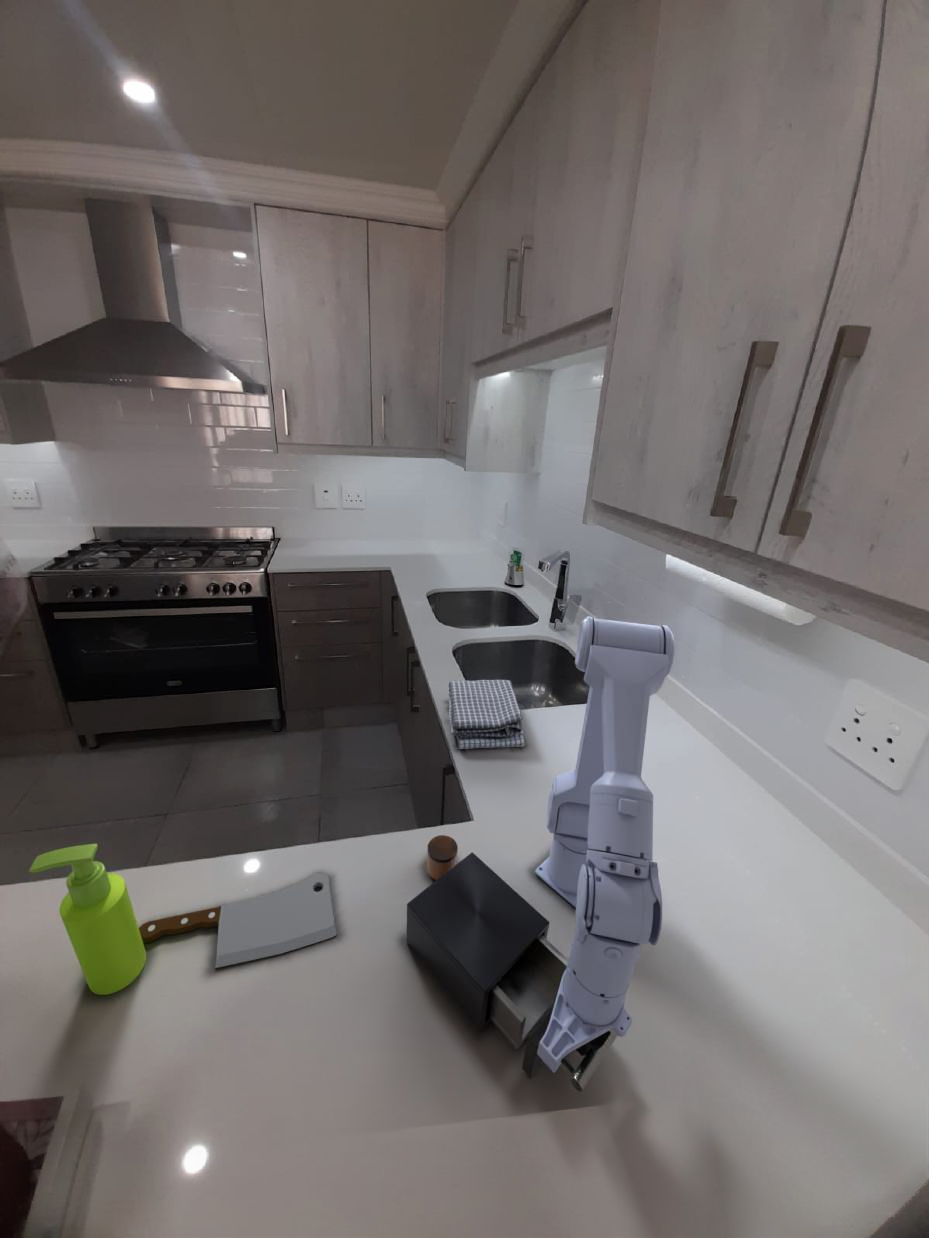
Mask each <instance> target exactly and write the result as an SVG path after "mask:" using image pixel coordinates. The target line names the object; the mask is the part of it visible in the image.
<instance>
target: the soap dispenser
mask: <svg viewBox="0 0 929 1238" xmlns="http://www.w3.org/2000/svg"><path fill="white" fill-rule="evenodd" d="M98 846H99V845H98V843H89V844H81V845H75V846H73V845H72V846H68V847H63V848H58V849H54V850H51V851H47V852H45V853H41V854H39V855H37V856H36V857H35V858H34V860H33V862H32V864H31V866H30V868H29V870H28V872H29V873H31V874H32V873H33V874H37V873H40V872H44V871H47V870H50V869H55V868H61V867H67V866H70V867H71V869H72V871H71V872H70V873H69V874H68V875H67V877H66V881H65V882H66V883H65V884H66V888H67V890H68V892H67V893H66V895H64V897H63V899H62V901H61V903H60V905H59V915H60V918H61V920H62V922H63V925H64V927H65V930H66V933H67V936H68V938H69V940H70V943H71V945H72V948H73V951H74V953H75V956H76V958H77V960H78V963H79V965H80V968H81V970H82V973H83V976H84V978H85V981H86V984H87V985H88V988H89V990H90V991H91V992H92V993H94V994H95V995H100V996H105V995H111V994H114V993H117V992H119V991H121V990H123V989H125V988H126V987H127V986H129V985H130V984H131V983H133V982H134V981H135V980H136V979H137V978H138V976H139V975H140V974H141V972H142V971H143V969H144V967H145V965H146V961H147V952H146V948H145V943H144V942H143V941H142V938H141V934H140V931H139V928H140V927H139V924H138V921H137V918H136V915H135V914H136V913H135V912H134V908H133V905H132V900H131V898H130V894H129V891H128V887H127V884H126V882H125V878H124V877H122V876H121V875H120V874H118V873H115V872H107V868H106V866H105V864H104V863H103V862H101V861H98V860H95V859H94V858H95V856H96V854H97V851H98V848H99V847H98ZM94 860H95V861H94Z"/></svg>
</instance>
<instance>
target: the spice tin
mask: <svg viewBox="0 0 929 1238" xmlns="http://www.w3.org/2000/svg"><path fill="white" fill-rule="evenodd" d="M458 849H459V847H458V843H457V841H456V840H455V839H454V838H453V837H451V836H449V835H446V834H443V835H442V834H441V835H436V836H434V837H432V838H431V839H430V840H429V842H428V844H427V862H426V863H427V864H426V870H427V874H428V876H429V877H430V878H431V879H433V880H434V881H436V880H438V879H439V878H440V877H441V876H443V875H444V874H445V873H446V872H448V871H449V870H450V869H451V868H453V867H454V866H455V865H457V858H458Z"/></svg>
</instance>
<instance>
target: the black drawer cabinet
mask: <svg viewBox="0 0 929 1238" xmlns="http://www.w3.org/2000/svg"><path fill="white" fill-rule="evenodd" d="M549 928H550V921H549V920H548V919H546V918H545V916H543V915H542V914H541V913H540V912H539V911H538V910H537V909H536V908H534V907H533V906H532V905H531V904H530V903H529V902H528V901H527V900H526V899H524V898H523V897H522V896H521V895H520V893H518V892H517V891H516V890H515V889H513V887H512V886H510V885H509V884H508V883H507V882H506V881H505V880H503V878H502V877H500V876H499V875H498V874H497V873H496V872H495V871H494V870H493V869H491V867H489V866H488V864H486V863H485V862H484V861H483V860H481V858H479V857H478V856H477V854H475V853H474V852H473V851H472V852H471V853H469V854H468V855H466V857H464V858H463V859H461V860H460V861H459V862H458V863H456V865H455V866H454V867H453V868H451V869H450V870H449V871H448V872H446V873H445V874H444V875H443V876H441V877H440V878H439V879H438V880H434V882H432V883H431V884H430V885H429V886H427V887H426V888H425V889H424V890H422V891H421V892H420V893H418V894H417V895H416V896H415V897H414V898H412V899H411V900H410V901H408V902H407V903H406V944H407V945H408V946H409V947H410V948H411V950H412V951H413V952H414V953H415V955H417V957H418V958H419V960H420V961H421V962H422V963H423V964H424V965H425V967H426V968H427V969H428V970H429V972H430V973H431V974H432V975H433V977H434V978H435V979H436V981H438V983H439V984H440V986H442V987H443V989H444V990H445V991H446V993H448V995H449V996H450V998H451V999H452V1000H453V1001H454V1002H455V1004H456V1005H457V1006H458V1007H459V1008H460V1009H461V1011H462V1012H463V1013H464V1014H465V1016H466V1017H467V1019H468V1020H469V1021H470V1022H471V1023H472V1025H473V1026H474V1027H475V1028H476V1030H477V1031H478V1032H480V1033H481V1032H482V1030H483V1029H485V1027H486V1026H487V1025H488V1024H489V1023H490V1021H491V1019H490V1018H489V1017H488V1016H487V1015H486V1011H487V1003H488V995H489V991H490V990H491V989H492V988H493V987H494V985H495V984H496V983H497V982H498V981H499V980H500V979H501V978H502V977H503V976H504V975H505V973H506V972H507V971H508V970H509V969H510V968H511V967H512V966H513V965H514V964H515V963H516V962H517V960H518V959H519V958H520V957H521V956H522V955H523V954H524V953H525V952H526V951H527V950H528V948H529V947H530V946H531V945H532V944H533V943H534V942H535V941H536V940H537V939H538V938H539V936H540V935H541V934H542V935H543V936H544V937H545V938H546V939H548V938H547V937H548V933H549Z"/></svg>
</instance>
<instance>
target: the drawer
mask: <svg viewBox="0 0 929 1238" xmlns="http://www.w3.org/2000/svg"><path fill="white" fill-rule="evenodd" d="M568 959H569V958H567V957H566V956H565V955H564V954H563V953H562V952H561V951H560V950H559V949H558V948H556V946H555V945H554V944H553V943H551V942H550V941H549V940H548V938H545V937H544V936H543V935H542V934H541V935H540V936H539V938H538V939H537V940H536V941H535V942H534V943H533V944H532V945H531V946H530V947H529V948H528V950H527V951H526V952H525V953H524V954H523V955H522V956H521V957H520V958H519V959H518V960H517V962H516V963H515V964H514V965H513V966H512V967H511V968H510V969H509V970H508V971H507V972H506V973H505V975H504V976H503V977H502V978H501V979H500V980H499V981H498V982H497V983H496V984H495V985H494V987H493V988H492V989H491V990H490V991H489V995H488V1003H487V1011H486V1015H487V1016H488V1017H489V1018H490V1019H491V1020H490V1021H492V1022H491V1023H493V1024H494V1025H495V1027H496V1028H497V1029H498V1030H499V1032H500V1033H501V1034H502V1035H503V1036H504V1037H505V1038H506V1040H507V1041H508V1042H509V1043H510V1045H512V1047H513V1048H514V1049H515V1050H516V1051H518V1050H519V1048H520V1047H521V1045H522V1044H524V1042H525V1041H526V1044H525V1050H524V1055H523V1060H522V1065H521V1069H522V1071H523V1072H524V1073H525V1074H526V1075H527V1077H528V1078H529V1079H531V1078H532V1077H533V1076H534V1074H535V1073H536V1072H537V1070H538V1069H539V1067H540V1066H541V1065H542V1063H544V1061H543V1060H542V1059H541V1058H540V1057H539V1055H538V1054H537V1052H538V1047H539V1042H540V1041H541V1039H542V1038H543V1036H544V1035H545V1033H546V1031H547V1028H548V1025H549V1022H550V1019H551V1015H552V1011H553V1008H554V1000H555V996H556V994H557V993H558V990H559V987H560V983H561V980H562V976H563V974H564V972H565V970H566V968H567V964H568ZM609 1031H610V1032H611V1034H610V1036H609V1037H608V1039H607V1040H606V1042H605V1043H604V1045H603V1046H602V1047H601V1048H600V1049H598V1050H597V1051H596V1050H594V1049H592V1048H591V1049H590V1050H589V1051H588V1053H587V1054H586V1055H584V1056H583V1058H582V1060H581V1061H580V1063H579V1064H578V1066H577V1067H576V1069H575V1068H574V1067H573V1066H572V1065H571V1064H570V1063H569V1062H568V1061H567V1060H566V1058H565V1057H563V1058H562V1060H561V1063H560V1066H559V1067H560V1068H561V1069H562V1070H563V1071H564V1072H565V1073H566V1075H567V1076H569V1078H570V1079H569V1080H570V1082H571V1084H572V1086H573V1088H574V1089H575V1090H576V1091H578V1092H579V1093H582V1092H583V1091H584V1089H585V1088H586V1086H587V1085H588V1083H589V1082H590V1080H591V1078H592V1077H593V1075H594V1074H595V1072H596V1071H597V1069H598V1068H599V1066H600V1064H601V1063H602V1061H603V1059H604V1058H605V1057H606V1055H607V1054H608V1052H609V1051H610V1050H611V1049H610V1048H611V1047H612V1046H613V1044H614V1042H615V1041H616V1039H617V1038H618V1037H619V1036H618V1035H617V1034H616V1033H615V1032H614V1031H611V1030H609Z"/></svg>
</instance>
